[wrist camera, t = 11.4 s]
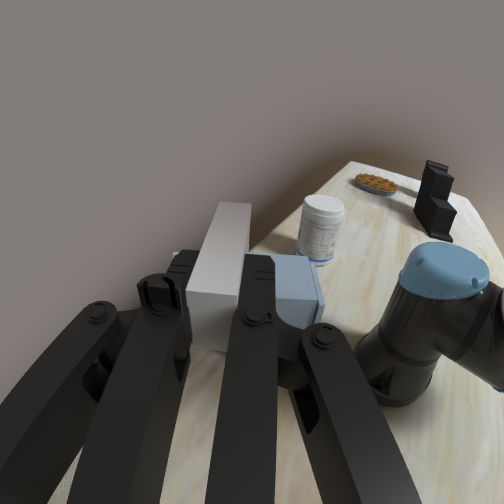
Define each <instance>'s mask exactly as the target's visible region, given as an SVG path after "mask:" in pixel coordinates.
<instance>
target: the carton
mask: <svg viewBox="0 0 504 504" xmlns="http://www.w3.org/2000/svg"><path fill="white" fill-rule="evenodd" d="M248 254H257V255H269V256H271V258H272V259H273V261H274V262H275V287H276V312H277V314H278V316H279V317H280V318H281V319H282V320H283V321H284V322H286V323H287V324H289V325H292V326H294V327H297V328H301V329H305V328H307V327H308V326H309V325H312V324H315V323H320V320H321V317H322V314H323V311H324V307H325V303H324V299H323V295H322V291H321V287H320V283H319V279H318V275H317V271H316V267H315V264H314V263H309V259H308V256H296V255H281V254H267V253H252V252H248Z"/></svg>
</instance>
